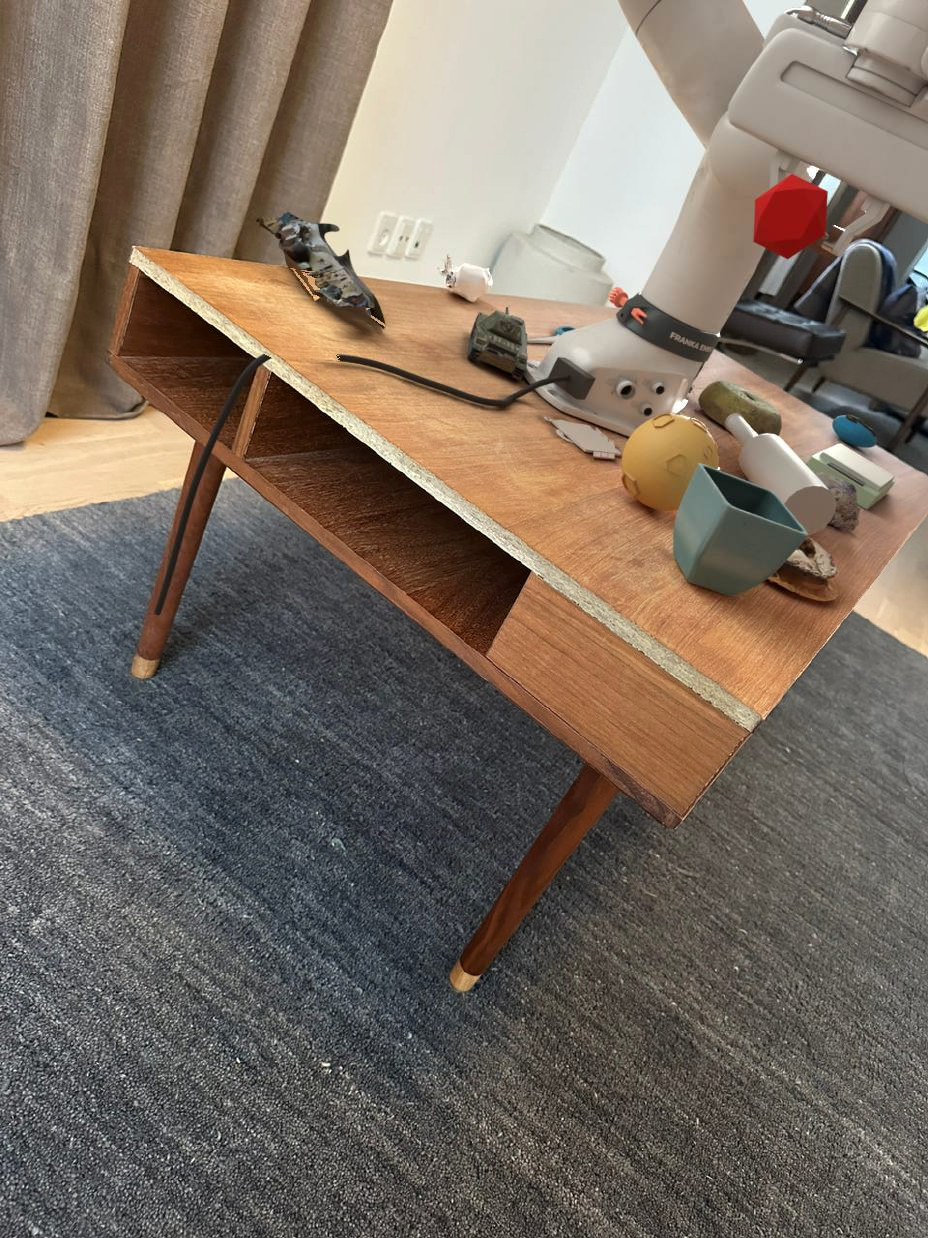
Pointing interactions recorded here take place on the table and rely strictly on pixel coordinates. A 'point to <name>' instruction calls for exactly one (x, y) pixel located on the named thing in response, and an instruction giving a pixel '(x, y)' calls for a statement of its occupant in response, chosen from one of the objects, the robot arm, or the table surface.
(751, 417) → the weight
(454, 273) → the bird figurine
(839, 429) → the ornament
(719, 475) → the flower pot
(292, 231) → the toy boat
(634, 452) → the stress ball
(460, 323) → the table surface
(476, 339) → the toy tank
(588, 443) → the decorative emblem
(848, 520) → the mineral specimen
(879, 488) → the pale green slotted box
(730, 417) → the bottle
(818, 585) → the cake on gold board
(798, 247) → the decorative stake
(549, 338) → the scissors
